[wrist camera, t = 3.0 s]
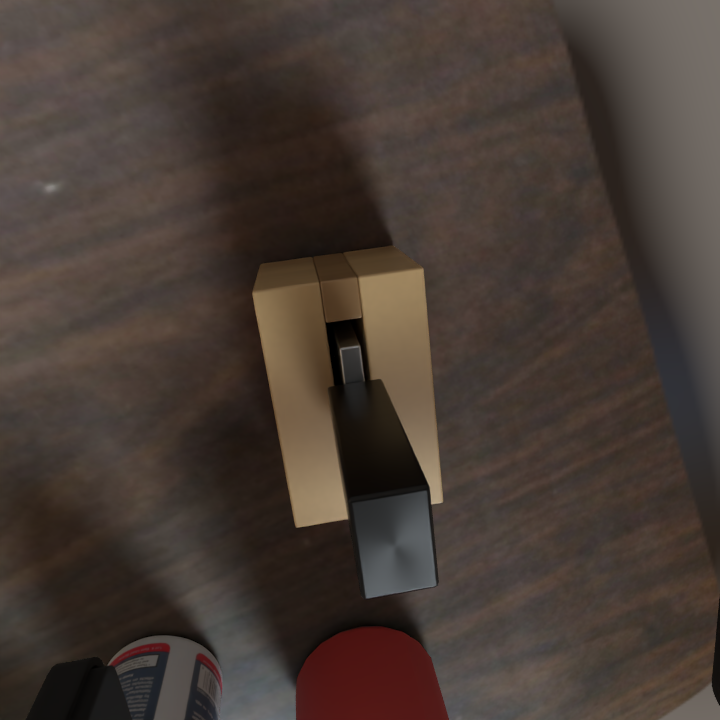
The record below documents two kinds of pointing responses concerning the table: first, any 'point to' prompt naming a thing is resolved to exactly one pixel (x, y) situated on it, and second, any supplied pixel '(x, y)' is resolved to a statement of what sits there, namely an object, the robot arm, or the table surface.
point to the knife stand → (314, 369)
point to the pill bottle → (169, 679)
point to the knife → (379, 480)
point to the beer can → (369, 679)
